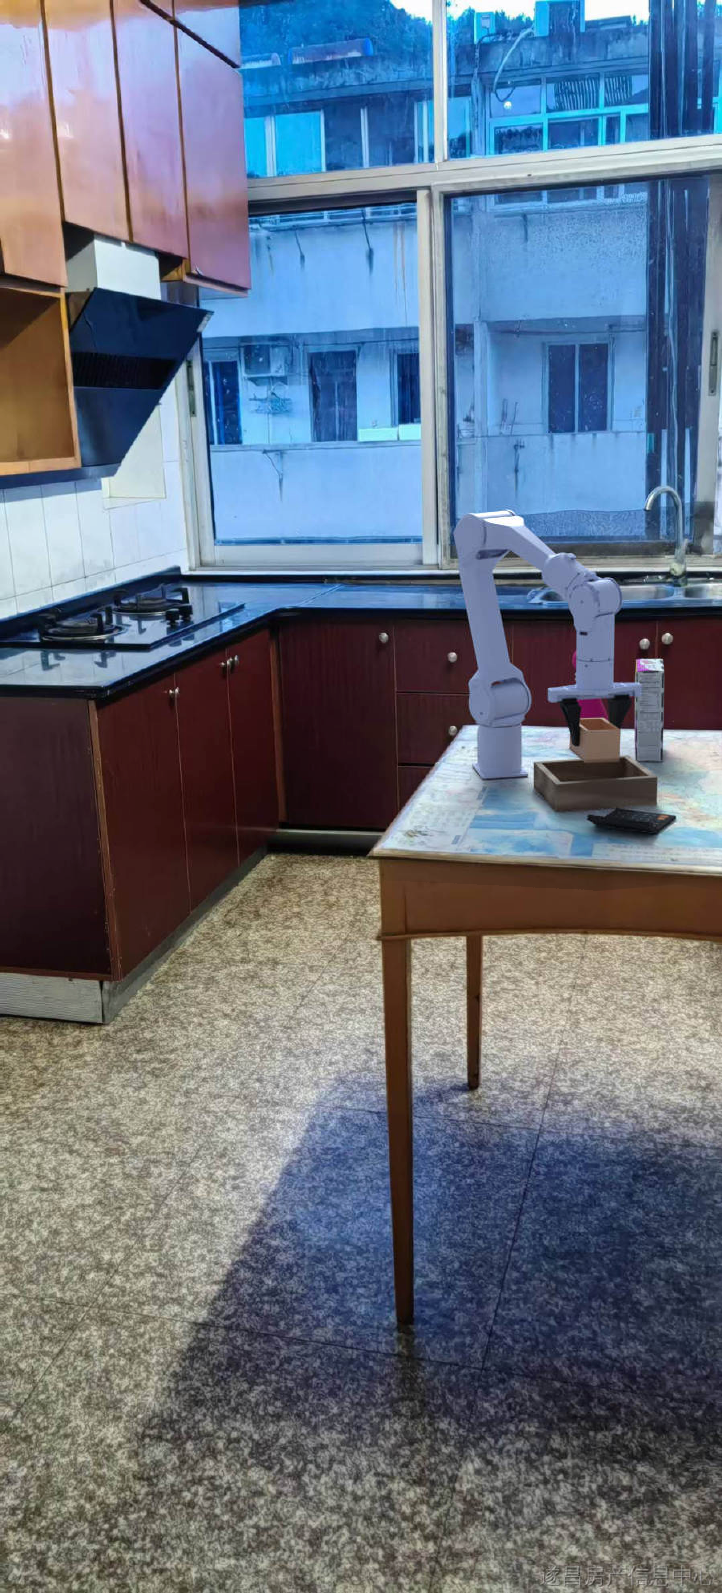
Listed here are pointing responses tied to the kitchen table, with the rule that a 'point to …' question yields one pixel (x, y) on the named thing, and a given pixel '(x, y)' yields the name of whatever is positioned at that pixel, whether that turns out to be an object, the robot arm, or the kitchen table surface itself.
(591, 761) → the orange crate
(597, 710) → the pepper mill
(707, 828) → the kitchen table surface
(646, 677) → the candy bar box
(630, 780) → the walnut crate
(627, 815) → the calculator
